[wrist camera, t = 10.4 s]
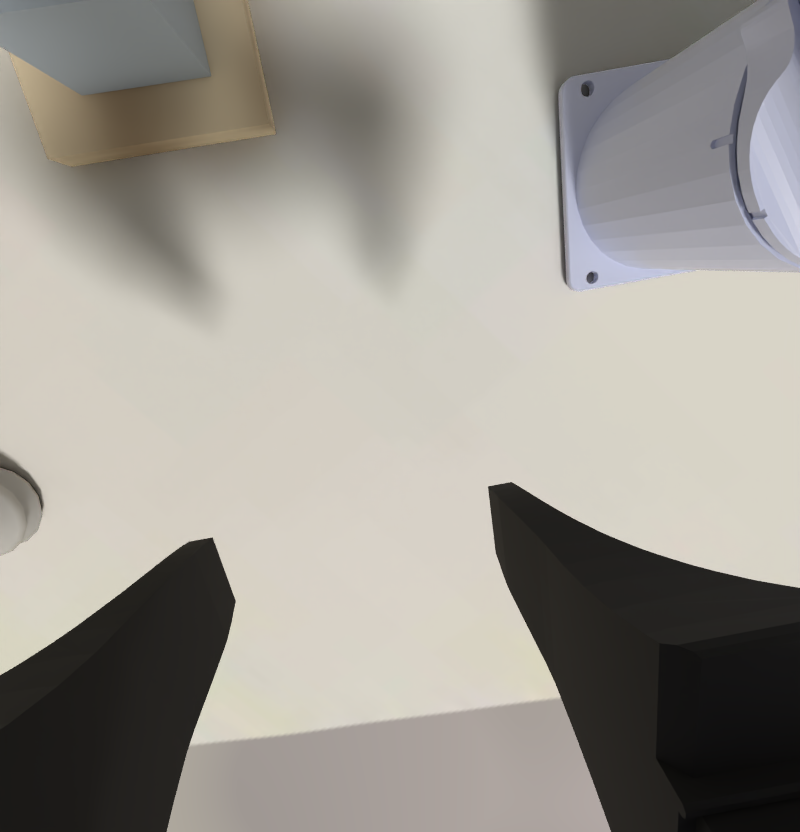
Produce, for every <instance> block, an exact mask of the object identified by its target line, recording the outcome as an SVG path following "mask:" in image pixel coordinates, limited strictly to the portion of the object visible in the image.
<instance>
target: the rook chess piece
mask: <svg viewBox="0 0 800 832" xmlns="http://www.w3.org/2000/svg"><path fill="white" fill-rule="evenodd" d="M41 517H42V509H41V504H40V500H39V496H38V494H37V493H36V491H35V490H34V489H33V487H32V486H31V484H30V483H29V482H28V481H26V480H25V479H24V478H22V477H21V476H19V475H18V474H17V473H15V472H12V471H9V470H7V469H4V468H1V467H0V556H1V555H4V554H6V553H9V552H11V551H13V550H14V549H15V548H16V547H17V546H18V545H19V544H20V543H23V542H26V541H28V540H29V539H30V538H31V537H32V536H33V535H34V534H35V533H36V532H37V531H38V528H39V525H40V521H41Z"/></svg>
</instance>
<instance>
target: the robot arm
mask: <svg viewBox="0 0 800 832" xmlns="http://www.w3.org/2000/svg"><path fill="white" fill-rule="evenodd" d="M582 84H584V85H587V86H588V87H589V90H590V92H589V96H588V97H586V96H584V95H583V94H582V92H581V86H582ZM558 99H559V122H560V146H561V169H562V192H563V215H564V238H565V261H566V282H567V286H568V287H569V288H570V289H571V290H573V291H586V290H591V289H597V288H602V287H608V286H613V285H619V284H624V283H630V282H635V281H641V280H646V279H652V278H657V277H663V276H668V275H674V274H679V273H685V272H690V271H696V270H715V271H760V272H800V0H757V1H756V2H754V3H753V4H751V5H750V6H748V7H747V8H745V9H744V10H742V11H741V12H739V13H738V14H736V15H735V16H733V17H732V18H730V19H729V20H728V21H726V22H725V23H723V24H722V25H720V26H719V27H717V28H716V29H714V30H713V31H711V32H710V33H708V34H707V35H705V36H704V37H702V38H701V39H699V40H698V41H696V42H695V43H693V44H692V45H690V46H689V47H687V48H686V49H684V50H683V51H681V52H680V53H678V54H677V55H676V56H674V57H673V58H671V59H667V60H661V61H656V62H650V63H644V64H639V65H633V66H627V67H622V68H616V69H610V70H605V71H599V72H593V73H588V74H582V75H576V76H572V77H570V78H568V79H567V80H566V81H565V82H564V83H563V84H562V85H561V87H560V90H559V95H558ZM589 272H592V273H593V274H594V279H593V281H592V282H591V283H588V282H587V280H586V278H587V275H588V273H589ZM488 490H489V498H490V507H491V515H492V524H493V533H494V541H495V550H496V555H497V557H498V560H499V563H500V566H501V569H502V572H503V575H504V577H505V580H506V583H507V586H508V588H509V590H510V592H511V594H512V596H513V598H514V600H515V602H516V604H517V606H518V608H519V610H520V612H521V614H522V616H523V618H524V620H525V622H526V624H527V626H528V628H529V630H530V632H531V634H532V636H533V638H534V640H535V642H536V644H537V646H538V648H539V650H540V652H541V654H542V656H543V658H544V660H545V662H546V664H547V666H548V668H549V670H550V672H551V675H552V677H553V679H554V681H555V683H556V686H557V688H558V691H559V693H560V696H561V699H562V701H563V704H564V706H565V709H566V711H567V714H568V717H569V719H570V722H571V724H572V727H573V729H574V732H575V735H576V737H577V740H578V742H579V745H580V748H581V750H582V753H583V756H584V759H585V761H586V763H587V767H588V769H589V772H590V774H591V777H592V780H593V783H594V785H595V788H596V791H597V794H598V796H599V799H600V802H601V805H602V808H603V810H604V812H605V816H606V819H607V821H608V824H609V827H610V830H611V832H800V588H796V587H790V586H784V585H779V584H773V583H767V582H761V581H756V580H751V579H746V578H742V577H738V576H733V575H729V574H725V573H720V572H716V571H712V570H708V569H704V568H701V567H697V566H693V565H690V564H686V563H683V562H680V561H677V560H673V559H670V558H667V557H664V556H660V555H657V554H654V553H651V552H649V551H646V550H643V549H640V548H638V547H635V546H633V545H630V544H628V543H625V542H622V541H620V540H617V539H615V538H613V537H610V536H608V535H606V534H603V533H601V532H599V531H597V530H595V529H593V528H591V527H589V526H587V525H585V524H583V523H581V522H579V521H577V520H575V519H573V518H571V517H569V516H567V515H566V514H564V513H562V512H560V511H559V510H557V509H555V508H553V507H552V506H550V505H548V504H547V503H545V502H543V501H542V500H540V499H538V498H537V497H535V496H533V495H532V494H530V493H529V492H527V491H525V490H524V489H522V488H520V487H519V486H517V485H515V484H514V483H512V482H510V483H505V484H499V485H494V486H489V487H488ZM235 602H236V601H235V598H234V595H233V593H232V590H231V587H230V584H229V582H228V579H227V576H226V573H225V571H224V568H223V565H222V562H221V560H220V557H219V554H218V551H217V549H216V546H215V543H214V540H213V538H207V539H202V540H197V541H191V542H188V543H187V544H185V545H183V546H182V547H180V548H179V549H177V550H176V551H175V552H173V553H172V554H171V555H169V556H168V557H167V558H165V559H164V560H163V561H161V562H160V563H159V564H158V565H156V566H155V567H154V568H153V569H151V570H150V571H149V572H147V573H146V574H145V575H144V576H142V577H141V578H140V579H139V580H137V581H136V582H135V583H133V584H132V585H131V586H130V587H128V588H127V589H126V590H125V591H123V592H122V593H121V594H119V595H118V596H117V597H115V598H114V599H113V600H111V601H110V602H109V603H107V604H106V605H105V606H103V607H102V608H101V609H99V610H98V611H97V612H95V613H94V614H93V615H91V616H90V617H89V618H87V619H86V620H85V621H83V622H82V623H80V624H79V625H78V626H76V627H75V628H73V629H72V630H71V631H69V632H68V633H66V634H65V635H63V636H62V637H60V638H59V639H58V640H56V641H55V642H53V643H52V644H50V645H48V646H47V647H45V648H44V649H42V650H41V651H39V652H38V653H36V654H35V655H33V656H31V657H30V658H28V659H27V660H25V661H24V662H22V663H20V664H19V665H17V666H16V667H14V668H12V669H10V670H9V671H7V672H5V673H4V674H2V675H0V832H166V831H167V827H168V823H169V819H170V815H171V810H172V806H173V802H174V798H175V795H176V791H177V787H178V783H179V780H180V776H181V772H182V768H183V765H184V761H185V757H186V753H187V750H188V747H189V744H190V741H191V738H192V735H193V732H194V729H195V727H196V724H197V721H198V718H199V716H200V713H201V710H202V708H203V705H204V702H205V700H206V697H207V694H208V691H209V689H210V686H211V683H212V681H213V678H214V675H215V673H216V670H217V667H218V664H219V662H220V659H221V656H222V653H223V650H224V648H225V645H226V642H227V639H228V634H229V630H230V626H231V622H232V617H233V612H234V607H235Z"/></svg>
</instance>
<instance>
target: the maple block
mask: <svg viewBox="0 0 800 832" xmlns="http://www.w3.org/2000/svg"><path fill="white" fill-rule="evenodd" d="M193 1H194V5H195V9H196V13H197V18H198V22H199V26H200V30H201V34H202V39H203V43H204V47H205V51H206V55H207V59H208V64H209V68H210V72H211V76H210V77H204V78H197V79H190V80H184V81H177V82H170V83H163V84H157V85H150V86H143V87H137V88H130V89H123V90H116V91H110V92H103V93H96V94H89V95H83V96H82V95H80V94H78V93H77V92H75V91H73V90H72V89H70V88H68V87H67V86H65V85H64V84H62V83H60V82H59V81H57V80H55V79H54V78H52V77H50V76H49V75H47V74H45V73H44V72H42V71H40V70H39V69H37V68H35V67H34V66H32V65H30V64H29V63H27V62H25V61H24V60H22V59H20V58H19V57H17V56H15V55H14V54H12V53H10V52H9V51H8V52H9V55H10V57H11V60H12V63H13V66H14V68H15V71H16V74H17V76H18V79H19V82H20V85H21V87H22V90H23V93H24V96H25V98H26V101H27V104H28V106H29V109H30V112H31V115H32V117H33V120H34V123H35V126H36V128H37V131H38V134H39V136H40V139H41V142H42V145H43V147H44V150H45V153H46V155H47V158H48V159H50V160H53V161H56V162H59V163H62V164H65V165H68V166H71V167H74V166H80V165H86V164H93V163H99V162H105V161H111V160H118V159H124V158H130V157H137V156H143V155H149V154H155V153H162V152H168V151H174V150H180V149H187V148H193V147H199V146H205V145H212V144H218V143H224V142H231V141H237V140H243V139H249V138H256V137H262V136H268V135H274V134H276V130H275V125H274V120H273V116H272V111H271V106H270V102H269V97H268V92H267V88H266V83H265V78H264V74H263V69H262V64H261V60H260V55H259V50H258V46H257V41H256V36H255V32H254V27H253V22H252V18H251V13H250V8H249V4H248V0H193Z"/></svg>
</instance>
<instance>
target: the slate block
mask: <svg viewBox="0 0 800 832" xmlns="http://www.w3.org/2000/svg"><path fill="white" fill-rule="evenodd" d="M0 47H2V48H4V49H5V50H7V51H9V52H10V53H12V54H14V55H15V56H17V57H19V58H20V59H22V60H24V61H25V62H27V63H29V64H30V65H32V66H34V67H35V68H37V69H39V70H40V71H42V72H44V73H45V74H47V75H49V76H50V77H52V78H54V79H55V80H57V81H59V82H60V83H62V84H64V85H65V86H67V87H68V88H70V89H72V90H73V91H75V92H77V93H78V94H80V95H82V96H83V95H89V94H96V93H103V92H110V91H116V90H123V89H130V88H137V87H143V86H150V85H157V84H163V83H170V82H177V81H184V80H190V79H197V78H204V77H210V76H211V72H210V68H209V64H208V59H207V55H206V51H205V47H204V43H203V39H202V34H201V30H200V26H199V22H198V18H197V13H196V9H195V5H194V1H193V0H0Z"/></svg>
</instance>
